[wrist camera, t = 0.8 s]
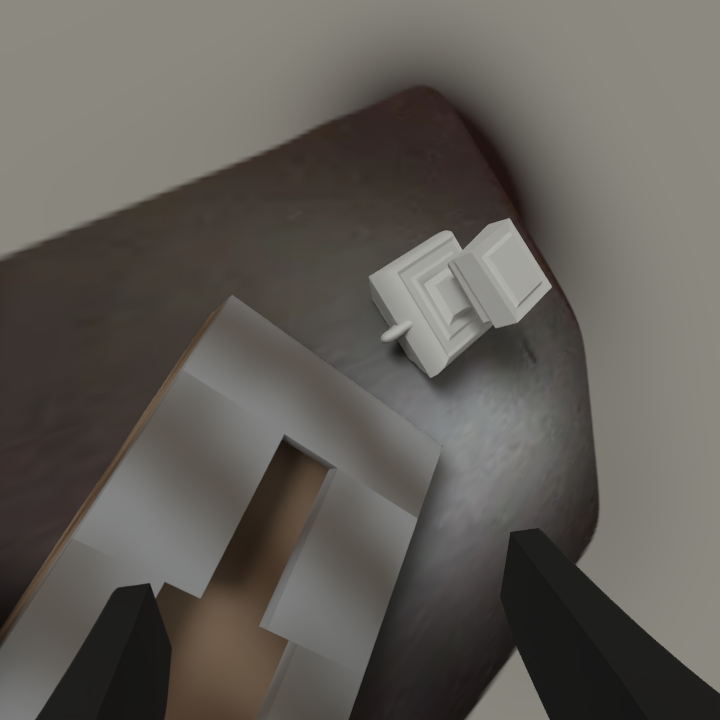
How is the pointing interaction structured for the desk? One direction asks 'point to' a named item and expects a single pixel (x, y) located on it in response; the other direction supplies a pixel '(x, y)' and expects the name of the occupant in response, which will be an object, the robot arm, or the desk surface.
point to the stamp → (456, 293)
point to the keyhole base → (238, 533)
